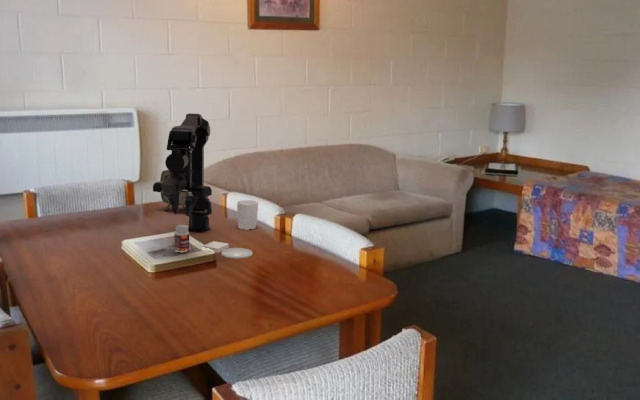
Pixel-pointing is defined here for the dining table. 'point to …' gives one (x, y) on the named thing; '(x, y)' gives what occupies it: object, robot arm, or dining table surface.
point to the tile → (217, 246)
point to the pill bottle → (181, 238)
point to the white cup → (247, 214)
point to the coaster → (236, 253)
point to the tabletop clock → (182, 195)
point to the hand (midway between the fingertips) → (182, 215)
